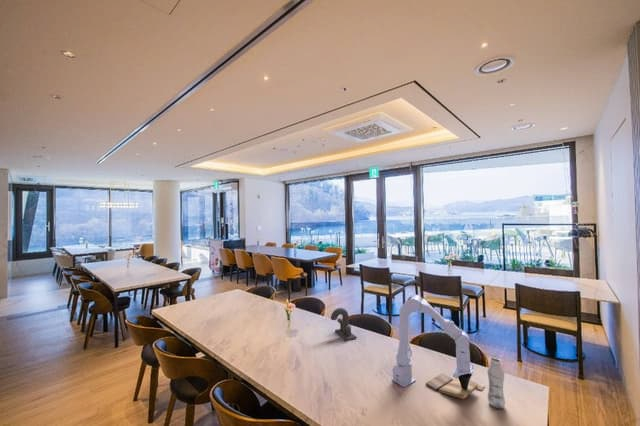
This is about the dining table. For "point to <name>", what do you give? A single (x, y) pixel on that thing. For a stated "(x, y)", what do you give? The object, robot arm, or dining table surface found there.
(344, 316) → the faucet
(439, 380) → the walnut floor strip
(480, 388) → the plank
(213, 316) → the dining table surface
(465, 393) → the oak plank
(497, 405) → the plastic bottle
